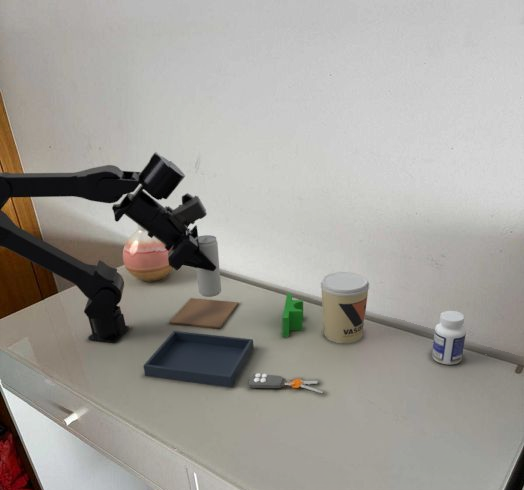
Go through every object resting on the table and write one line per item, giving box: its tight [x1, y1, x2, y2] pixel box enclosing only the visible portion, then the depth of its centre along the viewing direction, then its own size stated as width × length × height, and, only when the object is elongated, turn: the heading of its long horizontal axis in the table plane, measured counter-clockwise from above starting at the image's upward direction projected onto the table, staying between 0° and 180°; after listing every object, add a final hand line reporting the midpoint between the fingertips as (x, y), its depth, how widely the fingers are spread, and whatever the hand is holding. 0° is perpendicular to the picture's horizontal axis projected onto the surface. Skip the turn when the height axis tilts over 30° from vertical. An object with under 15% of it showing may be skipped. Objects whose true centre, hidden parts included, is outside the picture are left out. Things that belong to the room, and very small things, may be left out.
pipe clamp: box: [282, 293, 304, 338], centre depth 106 cm, size 11×4×5 cm, turn 173°
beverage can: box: [195, 234, 222, 298], centre depth 103 cm, size 5×5×12 cm
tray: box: [142, 330, 255, 388], centre depth 95 cm, size 17×13×2 cm
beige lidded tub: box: [320, 271, 370, 344], centre depth 99 cm, size 9×9×12 cm
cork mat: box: [169, 297, 239, 330], centre depth 113 cm, size 12×12×1 cm
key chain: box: [248, 372, 323, 394], centre depth 87 cm, size 13×4×2 cm, turn 80°
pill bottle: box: [431, 310, 467, 366], centre depth 91 cm, size 5×5×9 cm
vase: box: [122, 223, 174, 283], centre depth 129 cm, size 14×14×18 cm
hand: (214, 264), depth 103 cm, fingers closed on beverage can, 5 cm apart
